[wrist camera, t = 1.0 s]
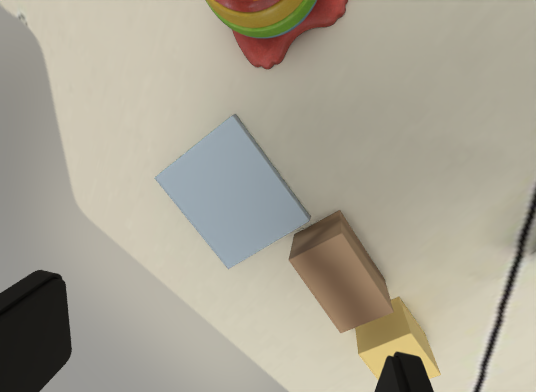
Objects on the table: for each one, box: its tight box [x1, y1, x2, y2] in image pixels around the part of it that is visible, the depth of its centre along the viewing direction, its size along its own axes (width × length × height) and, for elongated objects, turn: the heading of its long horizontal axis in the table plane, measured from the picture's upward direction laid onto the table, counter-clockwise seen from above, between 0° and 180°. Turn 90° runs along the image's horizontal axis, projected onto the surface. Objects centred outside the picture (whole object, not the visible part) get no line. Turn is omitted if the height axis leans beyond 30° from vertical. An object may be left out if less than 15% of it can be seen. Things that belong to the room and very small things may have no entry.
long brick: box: [289, 210, 394, 333], centre depth 34 cm, size 6×10×6 cm, turn 35°
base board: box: [155, 114, 310, 269], centre depth 36 cm, size 12×14×1 cm
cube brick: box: [355, 297, 441, 380], centre depth 36 cm, size 6×6×6 cm
